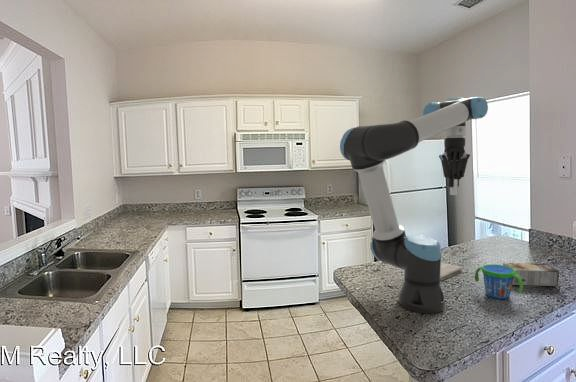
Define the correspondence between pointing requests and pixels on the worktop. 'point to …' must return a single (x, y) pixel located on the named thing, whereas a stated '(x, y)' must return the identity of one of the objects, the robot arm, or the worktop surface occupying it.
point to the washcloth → (448, 270)
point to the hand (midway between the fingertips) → (453, 194)
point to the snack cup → (498, 280)
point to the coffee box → (535, 274)
